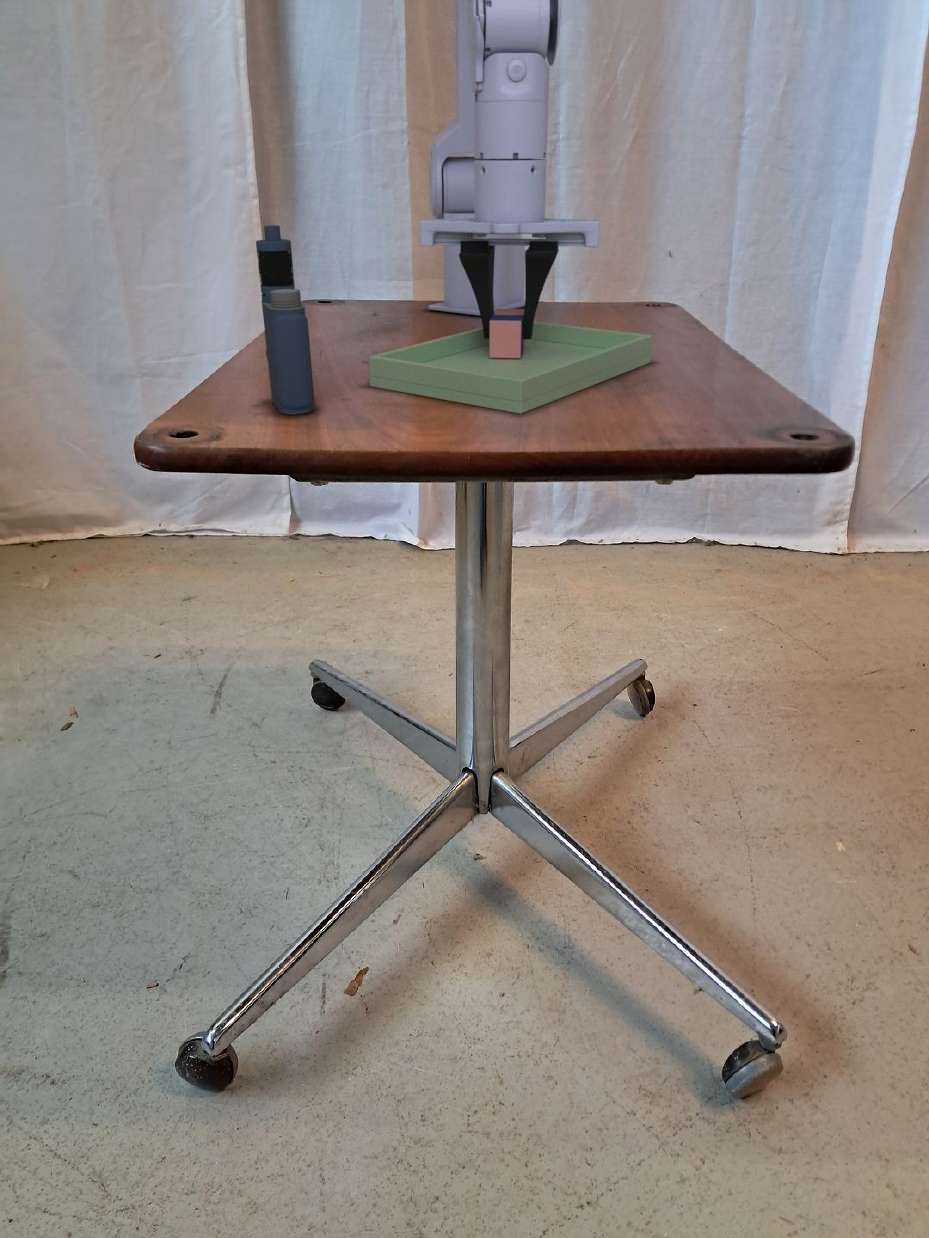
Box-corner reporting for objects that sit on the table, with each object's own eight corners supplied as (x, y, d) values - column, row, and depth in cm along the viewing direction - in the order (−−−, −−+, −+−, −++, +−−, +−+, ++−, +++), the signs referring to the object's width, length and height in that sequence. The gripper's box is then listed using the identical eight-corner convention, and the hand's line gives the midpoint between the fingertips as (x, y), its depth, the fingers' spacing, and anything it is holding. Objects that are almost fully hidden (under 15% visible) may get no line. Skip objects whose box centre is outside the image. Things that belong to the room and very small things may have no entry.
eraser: (495, 344, 82) (496, 308, 80) (526, 344, 81) (526, 308, 80) (488, 358, 76) (488, 320, 75) (520, 359, 76) (521, 320, 75)
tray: (513, 344, 86) (513, 318, 85) (650, 362, 78) (652, 335, 77) (369, 386, 72) (368, 356, 71) (520, 414, 64) (521, 381, 63)
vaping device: (302, 396, 69) (287, 224, 63) (318, 413, 65) (303, 230, 59) (268, 400, 68) (249, 225, 63) (282, 417, 64) (263, 231, 58)
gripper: (410, 161, 69) (416, 344, 76) (603, 160, 68) (592, 348, 74) (426, 159, 76) (430, 328, 82) (603, 158, 74) (593, 331, 80)
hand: (507, 337), depth 78 cm, fingers closed on eraser, 3 cm apart
